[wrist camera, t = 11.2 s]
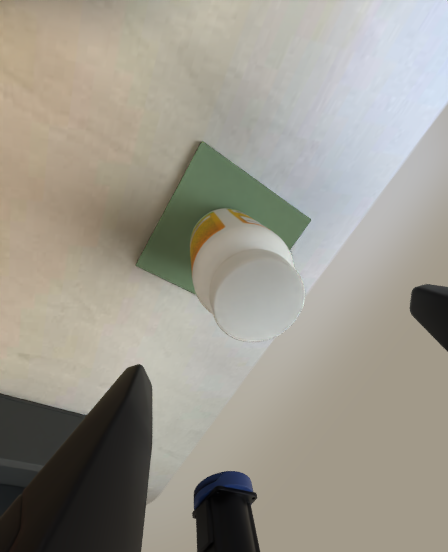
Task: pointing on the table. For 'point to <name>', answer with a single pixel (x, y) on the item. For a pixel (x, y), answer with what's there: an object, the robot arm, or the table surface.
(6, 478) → the bin
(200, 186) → the mat
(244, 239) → the supplement bottle
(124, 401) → the robot arm
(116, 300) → the table surface
